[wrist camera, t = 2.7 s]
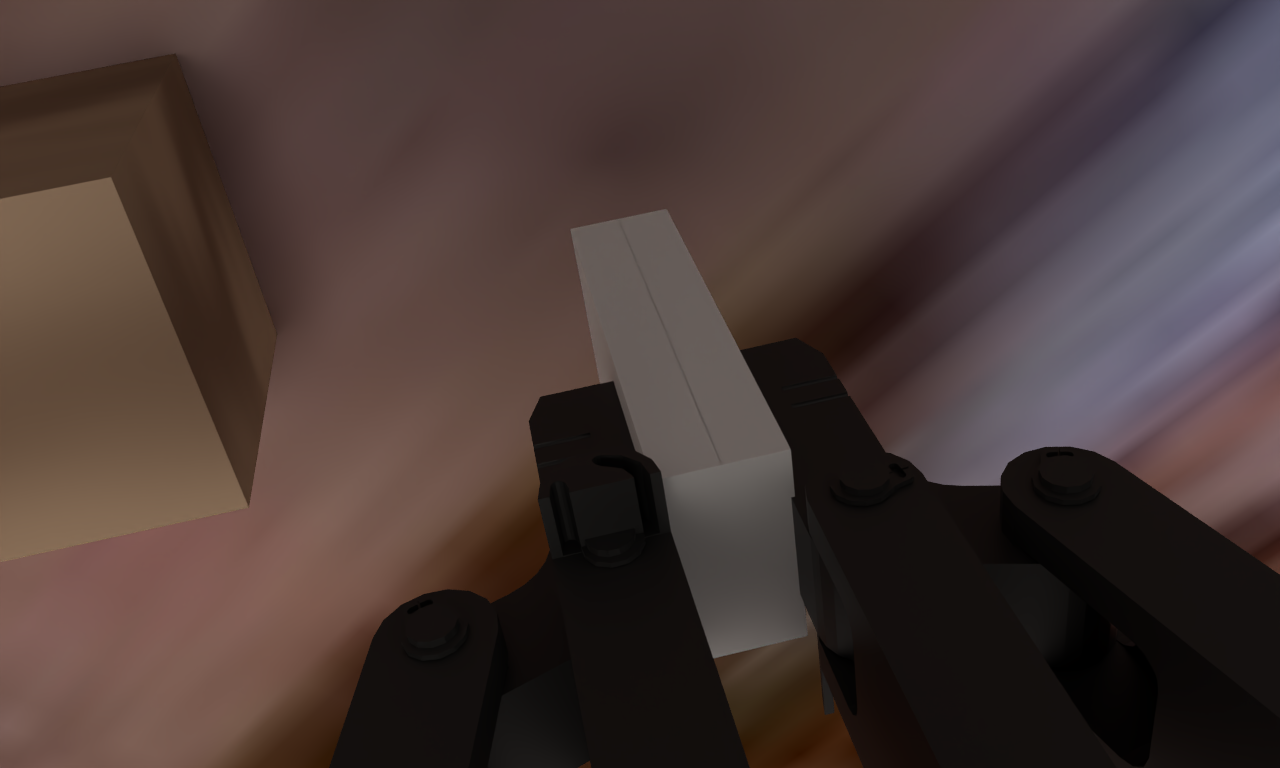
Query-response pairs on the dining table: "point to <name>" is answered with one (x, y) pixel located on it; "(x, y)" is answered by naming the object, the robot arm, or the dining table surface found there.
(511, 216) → the dining table surface
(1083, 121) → the dining table surface
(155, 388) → the block
